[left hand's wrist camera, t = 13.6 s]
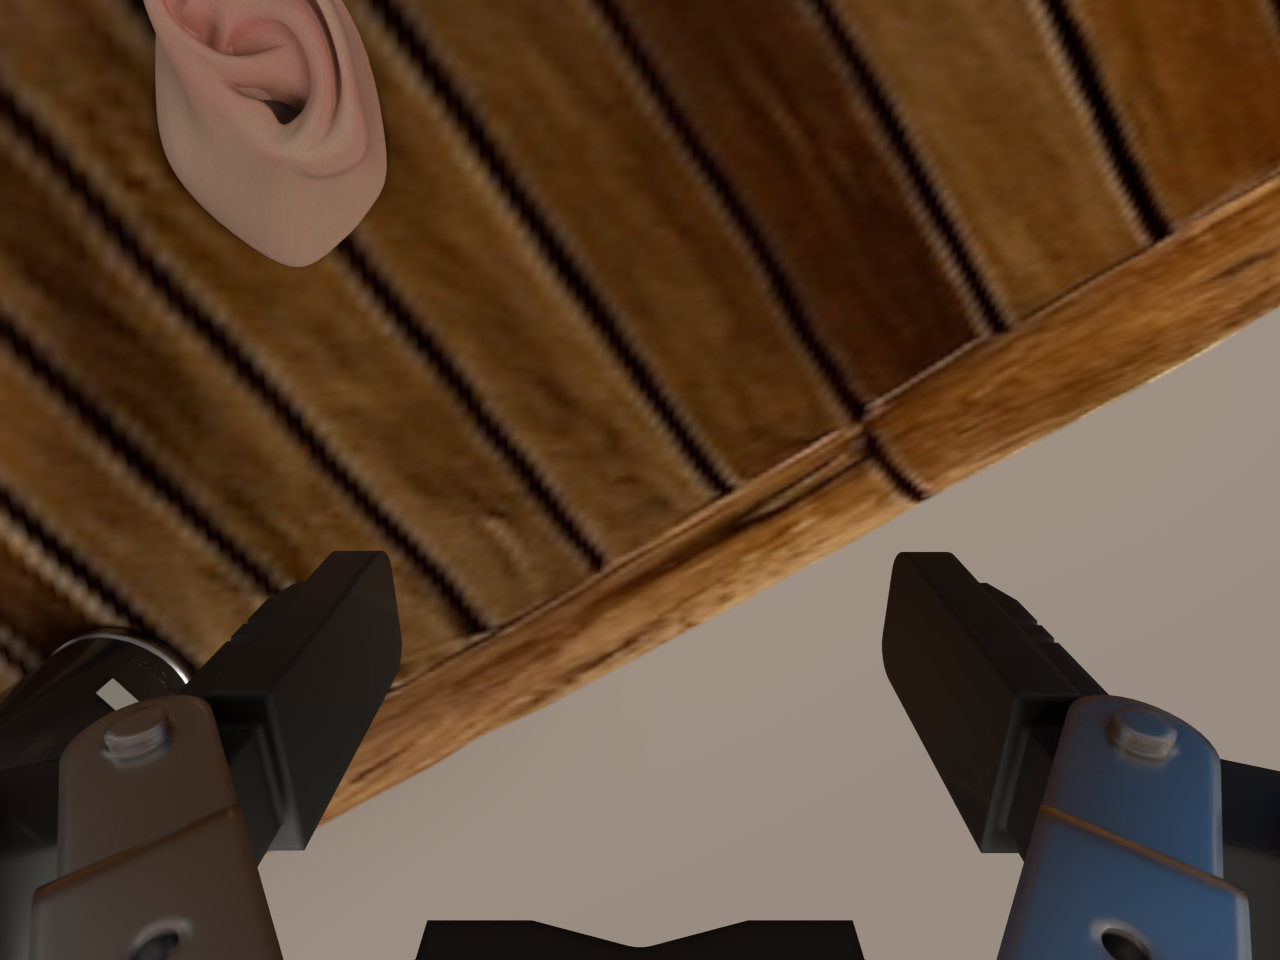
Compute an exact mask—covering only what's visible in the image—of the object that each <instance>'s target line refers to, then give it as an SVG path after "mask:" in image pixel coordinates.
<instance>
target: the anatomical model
mask: <svg viewBox="0 0 1280 960" xmlns="http://www.w3.org/2000/svg"><path fill="white" fill-rule="evenodd" d="M143 1H144V4H145V7H146V10H147V13H148V15H149V18H150V20H151V23H152V25H153V28H154V30H155V33H156V49H155V84H156V107H157V119H158V126H159V132H160V137H161V141H162V145H163V148H164V151H165V154H166V156H167V159H168V161H169V163H170V165H171V167H172V169H173V171H174V172H175V174H176V176H177V177H178V179H179V180H180V181H181V183H182V184H183V185H184V187H185V188H186V189H187V190H188V192H189V193H190V194H191V195H192V196H193V197H194V198H195V199H196V200H197V202H198V203H199V204H200V205H201V206H202V207H203V208H204V209H205V210H206V211H208V212H209V213H210V214H211V215H212V216H213V217H214V218H215V219H216V220H217V221H219V222H220V223H221V224H222V225H224V226H225V227H226V228H227V229H228V230H230V231H231V232H232V233H233V234H235V235H236V236H237V237H239V238H240V239H242V240H243V241H244V242H246V243H247V244H249V245H250V246H251V247H253V248H254V249H256V250H257V251H259V252H261V253H262V254H264V255H265V256H267V257H269V258H271V259H273V260H275V261H277V262H279V263H281V264H284V265H287V266H292V267H303V266H307V265H310V264H312V263H314V262H316V261H318V260H319V259H321V258H322V257H324V256H325V255H326V254H328V253H329V252H330V251H331V250H332V249H333V248H334V247H336V246H337V245H338V244H339V243H340V242H341V241H342V240H343V239H344V238H345V237H346V236H347V235H348V234H349V233H350V232H351V231H352V230H353V229H354V228H355V227H356V226H357V225H358V224H359V223H360V222H361V220H362V219H363V217H364V216H365V215H366V213H367V212H368V211H369V209H370V208H371V206H372V205H373V204H374V202H375V201H376V199H377V198H378V196H379V194H380V192H381V190H382V188H383V185H384V182H385V178H386V170H387V160H386V145H385V137H384V129H383V123H382V117H381V111H380V105H379V100H378V95H377V90H376V86H375V81H374V78H373V74H372V70H371V67H370V63H369V59H368V56H367V53H366V51H365V48H364V45H363V42H362V40H361V37H360V34H359V32H358V30H357V28H356V26H355V24H354V22H353V20H352V18H351V15H350V14H349V12H348V10H347V8H346V7H345V5H344V3H343V1H342V0H143Z"/></svg>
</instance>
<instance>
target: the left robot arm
mask: <svg viewBox="0 0 1280 960" xmlns="http://www.w3.org/2000/svg"><path fill="white" fill-rule="evenodd" d="M401 647H402V642H401V631H400V624H399V617H398V610H397V603H396V596H395V589H394V582H393V576H392V569H391V563H390V560H389V557H388V555H387V554H386V553H385V552H384V551H334V552H332V553H331V554H330V555H329V556H328V557H327V558H326V559H325V561H324V562H323V563H322V564H321V565H320V566H319V567H318V568H317V569H316V570H315V572H314V573H313V574H312V575H311V576H310V577H309V578H308V579H307V580H306V582H297V583H295V584H293V585H291V586H290V587H288V588H286V589H284V590H283V591H281V592H279V593H277V594H276V595H274V596H272V597H270V598H269V599H267V600H266V601H265V602H264V603H263V604H262V605H261V606H260V607H259V609H258V610H257V611H256V612H255V613H254V614H253V615H252V616H251V617H250V618H249V619H248V623H247V624H243V625H242V626H241V627H240V628H239V629H238V630H237V631H236V632H235V633H234V634H233V636H232V637H231V641H227V642H226V643H225V644H224V645H223V646H222V647H221V648H220V649H219V650H218V651H217V652H216V653H215V654H214V655H213V656H212V657H211V658H210V659H209V660H208V661H207V663H206V664H205V665H204V666H203V667H202V668H201V669H200V670H199V671H198V672H197V673H196V674H195V673H194V671H193V670H192V669H191V667H190V666H189V665H188V664H187V662H186V661H185V660H184V659H183V658H182V657H181V656H180V655H179V654H177V653H176V652H175V651H174V650H172V649H171V648H169V647H168V646H167V645H165V644H163V643H162V642H160V641H158V640H156V639H154V638H152V637H150V636H147V635H145V634H142V633H139V632H135V631H131V630H126V629H119V628H100V629H94V630H89V631H86V632H83V633H81V634H78V635H77V636H75V637H73V638H72V639H70V640H69V641H67V642H66V643H65V644H63V645H62V646H61V647H59V648H58V649H57V650H56V651H55V652H54V653H53V654H52V655H51V656H50V657H49V658H48V659H46V660H45V661H44V662H42V663H41V664H40V665H38V666H37V667H36V668H34V669H33V670H32V671H30V672H29V673H28V674H26V675H25V676H24V677H22V678H21V679H19V680H18V681H17V682H15V683H14V684H13V685H11V686H10V687H9V688H7V689H6V690H5V691H3V692H2V693H1V694H0V960H283V957H282V953H281V950H280V946H279V943H278V939H277V935H276V932H275V928H274V925H273V921H272V918H271V914H270V911H269V907H268V904H267V900H266V897H265V893H264V890H263V886H262V882H261V879H260V875H259V872H258V868H257V867H258V865H259V863H260V862H261V860H262V858H263V857H264V855H265V853H266V852H267V850H305V848H306V846H307V844H308V842H309V840H310V838H311V836H312V835H313V833H314V831H315V829H316V827H317V825H318V823H319V821H320V819H321V818H322V816H323V814H324V812H325V810H326V808H327V806H328V804H329V802H330V800H331V799H332V797H333V795H334V793H335V791H336V789H337V787H338V785H339V783H340V781H341V780H342V778H343V776H344V774H345V772H346V770H347V768H348V766H349V764H350V762H351V761H352V759H353V757H354V755H355V753H356V751H357V749H358V747H359V745H360V743H361V742H362V740H363V738H364V736H365V734H366V732H367V730H368V728H369V726H370V724H371V723H372V721H373V719H374V717H375V715H376V713H377V711H378V709H379V707H380V705H381V704H382V702H383V700H384V698H385V696H386V694H387V692H388V690H389V688H390V686H391V685H392V683H393V681H394V679H395V677H396V674H397V672H398V668H399V664H400V658H401ZM882 654H883V662H884V667H885V671H886V674H887V676H888V679H889V681H890V682H891V684H892V686H893V688H894V690H895V692H896V694H897V696H898V698H899V699H900V701H901V703H902V705H903V707H904V709H905V711H906V713H907V714H908V716H909V718H910V720H911V722H912V724H913V726H914V728H915V729H916V731H917V733H918V735H919V737H920V739H921V741H922V743H923V744H924V746H925V748H926V750H927V752H928V754H929V756H930V758H931V759H932V761H933V763H934V765H935V767H936V769H937V771H938V773H939V775H940V776H941V778H942V780H943V782H944V784H945V786H946V788H947V789H948V791H949V793H950V795H951V797H952V799H953V801H954V803H955V805H956V806H957V808H958V810H959V812H960V814H961V816H962V818H963V820H964V821H965V823H966V825H967V827H968V829H969V831H970V833H971V835H972V836H973V838H974V840H975V842H976V844H977V846H978V848H979V850H980V851H981V853H1019V854H1020V856H1021V858H1022V859H1023V861H1024V865H1023V868H1022V872H1021V875H1020V879H1019V882H1018V886H1017V890H1016V893H1015V897H1014V900H1013V904H1012V907H1011V911H1010V914H1009V918H1008V921H1007V925H1006V929H1005V932H1004V935H1003V939H1002V943H1001V946H1000V950H999V953H998V957H997V960H1280V771H1276V770H1270V769H1266V768H1261V767H1256V766H1251V765H1247V764H1241V763H1237V762H1232V761H1227V760H1223V759H1220V758H1219V756H1218V754H1217V752H1216V750H1215V748H1214V747H1213V746H1212V744H1211V743H1210V742H1209V741H1208V740H1207V739H1206V738H1205V737H1204V736H1203V735H1202V734H1201V733H1200V732H1199V731H1197V730H1196V729H1195V728H1193V727H1192V726H1191V725H1189V724H1188V723H1186V722H1185V721H1183V720H1181V719H1180V718H1178V717H1176V716H1174V715H1172V714H1170V713H1168V712H1166V711H1164V710H1162V709H1160V708H1157V707H1155V706H1152V705H1149V704H1147V703H1144V702H1140V701H1137V700H1134V699H1129V698H1124V697H1119V696H1111V695H1109V694H1107V692H1106V691H1105V690H1104V689H1103V688H1102V687H1101V686H1100V685H1099V684H1098V683H1097V682H1096V681H1095V680H1094V679H1093V678H1092V677H1091V676H1090V675H1089V674H1088V673H1087V672H1086V671H1085V670H1084V669H1083V668H1082V667H1081V666H1080V665H1079V664H1078V663H1077V662H1076V661H1075V660H1074V659H1073V658H1072V656H1071V655H1070V654H1069V653H1068V652H1067V651H1066V650H1065V649H1064V648H1063V647H1062V646H1061V645H1060V644H1059V643H1054V638H1053V637H1052V636H1051V635H1050V634H1049V633H1048V632H1047V631H1046V630H1045V629H1044V628H1043V627H1042V626H1041V625H1037V620H1036V619H1035V618H1034V617H1033V616H1032V615H1031V614H1030V613H1029V612H1028V611H1027V610H1026V609H1025V608H1024V607H1023V606H1022V605H1021V604H1020V603H1019V602H1018V601H1017V600H1015V599H1014V598H1012V597H1010V596H1008V595H1007V594H1005V593H1003V592H1001V591H1000V590H998V589H996V588H994V587H993V586H991V585H989V584H987V583H979V582H978V581H977V580H976V579H975V578H974V577H973V576H972V574H971V573H970V572H969V571H968V570H967V569H966V568H965V567H964V566H963V565H962V563H961V562H960V561H959V560H958V559H957V558H956V557H955V556H954V555H953V554H952V553H950V552H901V553H899V554H898V555H897V556H896V558H895V561H894V564H893V569H892V575H891V582H890V589H889V596H888V603H887V610H886V616H885V623H884V630H883V638H882ZM416 960H864V957H863V953H862V950H861V947H860V943H859V940H858V937H857V933H856V930H855V927H854V923H853V921H852V920H748V921H744V922H741V923H737V924H733V925H729V926H726V927H722V928H718V929H714V930H710V931H707V932H703V933H699V934H695V935H691V936H688V937H684V938H680V939H676V940H672V941H669V942H665V943H661V944H657V945H653V946H649V947H632V946H627V945H623V944H619V943H615V942H611V941H608V940H604V939H600V938H596V937H593V936H589V935H585V934H581V933H577V932H574V931H570V930H566V929H562V928H558V927H554V926H551V925H547V924H543V923H540V922H536V921H531V920H428V921H427V924H426V927H425V930H424V933H423V937H422V940H421V943H420V947H419V950H418V953H417V957H416Z"/></svg>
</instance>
